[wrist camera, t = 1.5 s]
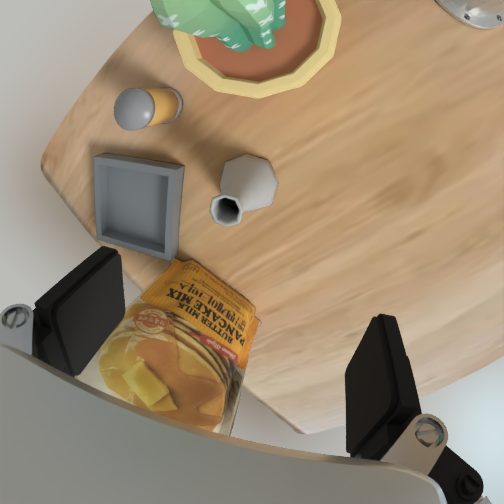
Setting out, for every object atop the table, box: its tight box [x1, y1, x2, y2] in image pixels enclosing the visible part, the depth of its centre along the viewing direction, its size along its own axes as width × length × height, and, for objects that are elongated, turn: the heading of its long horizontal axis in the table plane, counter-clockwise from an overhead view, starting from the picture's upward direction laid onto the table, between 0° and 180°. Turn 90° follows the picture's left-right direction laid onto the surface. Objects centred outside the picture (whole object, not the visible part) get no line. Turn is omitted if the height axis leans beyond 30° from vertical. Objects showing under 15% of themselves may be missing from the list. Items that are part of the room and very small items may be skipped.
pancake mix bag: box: [74, 258, 262, 436], centre depth 34 cm, size 7×19×28 cm, turn 53°
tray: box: [94, 153, 185, 261], centre depth 40 cm, size 13×13×2 cm
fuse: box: [114, 88, 183, 131], centre depth 30 cm, size 5×5×8 cm
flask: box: [209, 154, 278, 227], centre depth 32 cm, size 7×7×10 cm
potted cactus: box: [151, 0, 342, 99], centre depth 17 cm, size 16×15×25 cm
